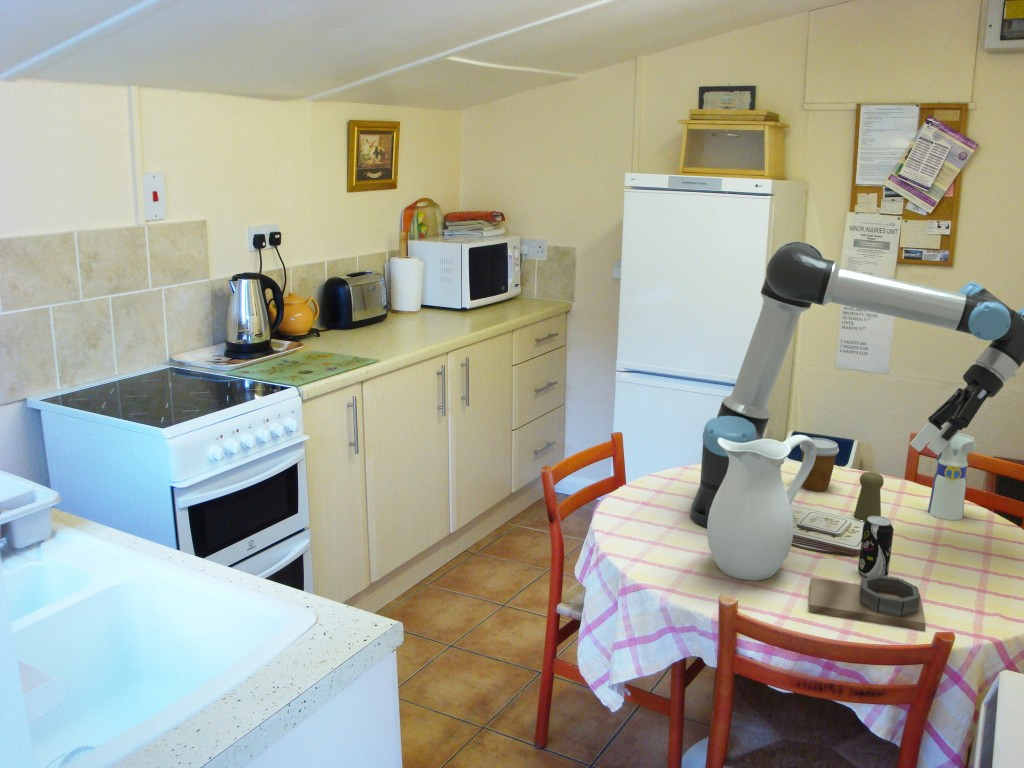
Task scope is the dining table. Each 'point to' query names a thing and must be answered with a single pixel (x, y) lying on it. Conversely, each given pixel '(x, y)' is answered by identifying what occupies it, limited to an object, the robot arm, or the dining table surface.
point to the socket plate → (851, 606)
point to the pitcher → (755, 507)
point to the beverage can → (875, 546)
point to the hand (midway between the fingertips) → (922, 449)
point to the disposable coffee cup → (821, 464)
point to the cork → (869, 496)
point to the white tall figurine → (951, 478)
